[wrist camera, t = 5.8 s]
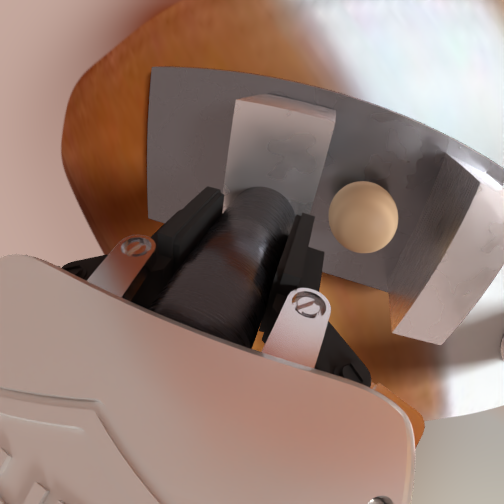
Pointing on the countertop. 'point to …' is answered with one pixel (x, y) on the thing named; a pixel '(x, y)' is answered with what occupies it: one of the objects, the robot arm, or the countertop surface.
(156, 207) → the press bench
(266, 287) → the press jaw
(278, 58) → the countertop surface
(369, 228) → the tan wooden ball
